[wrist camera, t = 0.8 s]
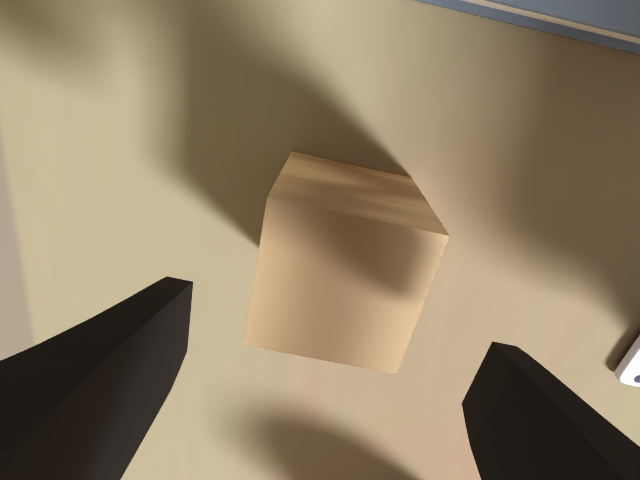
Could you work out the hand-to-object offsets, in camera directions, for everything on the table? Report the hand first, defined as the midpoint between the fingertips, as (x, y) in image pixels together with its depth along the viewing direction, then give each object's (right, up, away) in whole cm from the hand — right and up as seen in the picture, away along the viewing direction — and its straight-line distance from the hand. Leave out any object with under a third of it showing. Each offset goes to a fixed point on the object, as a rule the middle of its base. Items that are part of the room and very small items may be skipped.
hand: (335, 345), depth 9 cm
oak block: (0, +3, +8) cm, 8 cm away
